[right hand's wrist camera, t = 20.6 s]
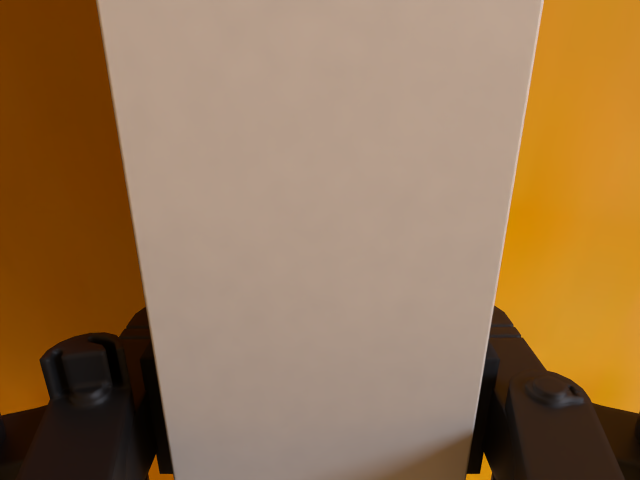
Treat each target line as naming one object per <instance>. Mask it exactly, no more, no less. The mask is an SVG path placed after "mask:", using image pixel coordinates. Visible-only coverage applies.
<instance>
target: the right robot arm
mask: <svg viewBox="0 0 640 480" xmlns="http://www.w3.org/2000/svg"><path fill="white" fill-rule="evenodd" d="M40 364H41V367H42V371H43V374H44V378H45V382H46V385H47V389H48V393H49V396H50V401H49V403H48V405H46V406H42V407H39V408H34V409H30V410H25V411H21V412H16V413H11V414H7V415H2V416H1V414H0V480H149V476H148V472H149V469H150V467H151V465H152V462H153V460H154V457H155V455H157V461H158V466H159V472H160V474H173V469H172V463H171V457H170V451H169V445H168V438H167V432H166V426H165V420H164V414H163V408H162V402H161V396H160V390H159V383H158V377H157V371H156V365H155V359H154V353H153V347H152V341H151V334H150V328H149V322H148V316H147V310H146V307H145V308H143V309H142V310H140V311H139V312H137V313H136V314H135V315H134V317H133V318H132V319H131V321H130V322H129V324H128V325H127V328H126V329H124V331H123V332H122V333H121V335H120V336H119V337H118V336H116V335H113V334H109V333H88V334H83V335H79V336H74V337H72V338H69V339H67V340H65V341H62V342H60V343H58V344H57V345H55V346H54V347H52V348H50V349H49V350H47V351H46V353H45V354H44V355H43V356H42V357H41V358H40ZM483 453H485V456H486V458H487V461H488V463H489V465H490V468H491V470H492V476H491V480H640V412H639V414H638V413H633V412H629V411H624V410H619V409H615V408H610V407H605V406H601V405H598V404H594V403H592V402H591V400H590V398H589V397H588V395H587V394H586V393H585V391H584V390H583V389H582V388H581V387H580V386H578V385H577V384H576V383H574V382H573V381H572V380H570V379H568V378H566V377H564V376H562V375H559V374H557V373H554V372H550V371H547V370H546V369H545V368H544V366H543V365H542V363H541V362H540V361H539V359H538V358H537V357H536V355H535V354H534V352H533V351H532V350H531V348H530V347H529V346H528V344H527V343H526V341H525V340H524V339H523V338H521V335H520V333H519V332H518V330H517V329H516V328H515V327H513V324H512V322H511V321H510V319H509V318H508V317H507V315H506V314H505V313H504V312H503V311H502V310H500V309H499V308H497V307H496V306H494V308H493V315H492V321H491V327H490V333H489V339H488V345H487V351H486V357H485V364H484V370H483V376H482V382H481V388H480V394H479V400H478V406H477V413H476V419H475V425H474V431H473V437H472V443H471V449H470V455H469V462H468V468H467V474H480V470H481V464H482V459H483Z"/></svg>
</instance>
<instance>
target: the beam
mask: <svg viewBox="0 0 640 480" xmlns="http://www.w3.org/2000/svg"><path fill="white" fill-rule="evenodd" d="M543 2H544V0H96V4H97V10H98V16H99V22H100V28H101V35H102V41H103V47H104V53H105V59H106V65H107V71H108V77H109V84H110V90H111V96H112V102H113V108H114V114H115V120H116V126H117V132H118V139H119V145H120V151H121V157H122V163H123V169H124V175H125V181H126V188H127V194H128V200H129V206H130V212H131V218H132V224H133V230H134V237H135V243H136V249H137V255H138V261H139V267H140V273H141V279H142V285H143V292H144V298H145V304H146V310H147V316H148V322H149V328H150V334H151V341H152V347H153V353H154V359H155V365H156V371H157V377H158V383H159V390H160V396H161V402H162V408H163V414H164V420H165V426H166V432H167V438H168V445H169V451H170V457H171V463H172V469H173V475H174V480H466V474H467V468H468V462H469V455H470V449H471V443H472V437H473V431H474V425H475V419H476V413H477V406H478V400H479V394H480V388H481V382H482V376H483V370H484V364H485V357H486V351H487V345H488V339H489V333H490V327H491V321H492V315H493V308H494V302H495V296H496V290H497V284H498V278H499V272H500V265H501V259H502V253H503V247H504V241H505V235H506V229H507V223H508V216H509V210H510V204H511V198H512V192H513V186H514V180H515V174H516V167H517V161H518V155H519V149H520V143H521V137H522V131H523V125H524V118H525V112H526V106H527V100H528V94H529V88H530V82H531V75H532V69H533V63H534V57H535V51H536V45H537V39H538V33H539V26H540V20H541V14H542V8H543Z"/></svg>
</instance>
